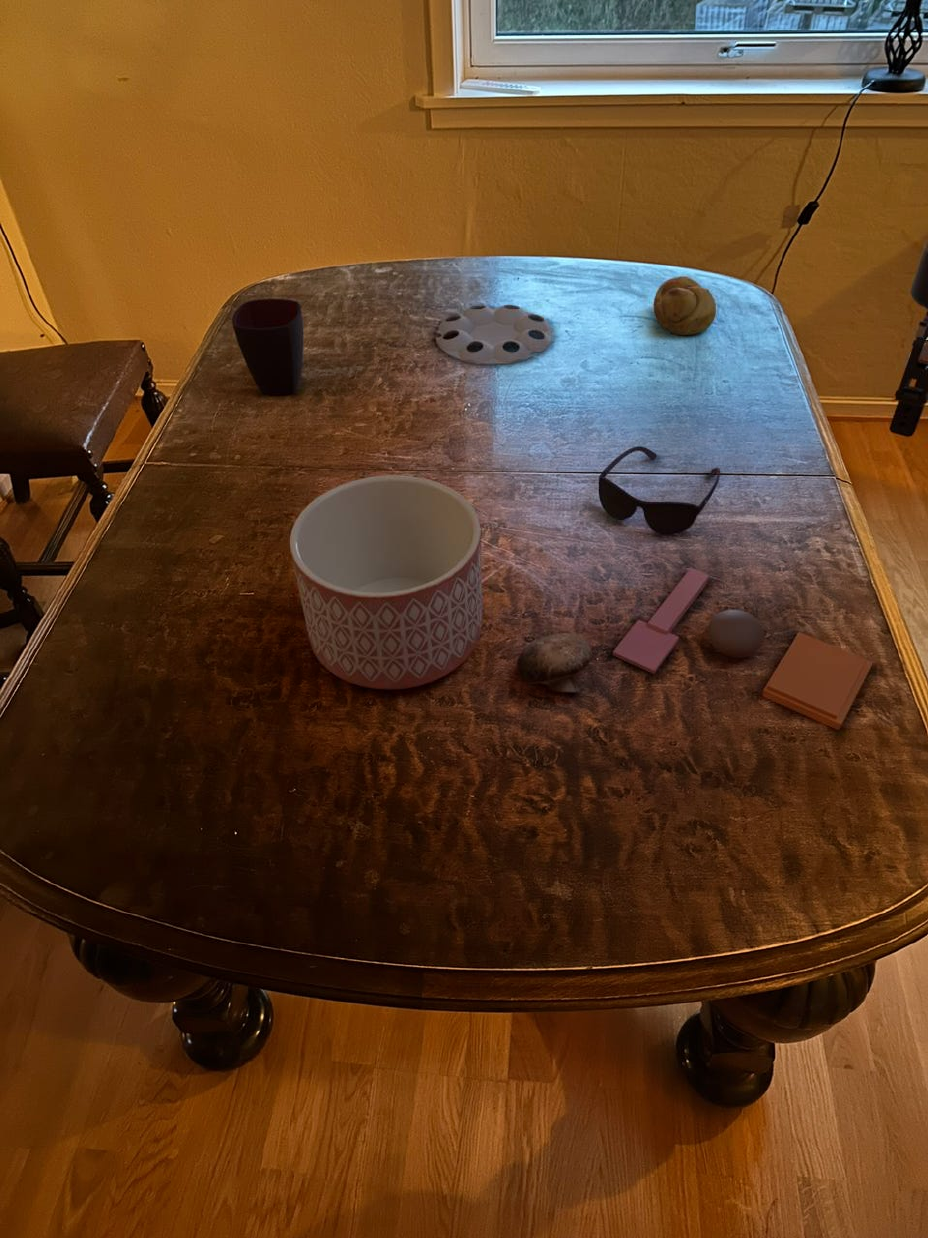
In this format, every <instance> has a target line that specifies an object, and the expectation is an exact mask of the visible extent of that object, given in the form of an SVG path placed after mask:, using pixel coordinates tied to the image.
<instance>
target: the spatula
mask: <svg viewBox="0 0 928 1238" xmlns="http://www.w3.org/2000/svg"><path fill="white" fill-rule="evenodd" d="M709 578H710V574H708V573H705V572H702V571H700V570H697V569H695V568H692V567H690V568H689V569H688V570H687V572H686V573H685V574H684V576H683V577H682V578H681V580H680V581H679V582H678V583H677V585H676V586H675V587H674V588H673V590H672V591H671V592H670V593H669V595H668V596H667V598H665V600H664V601H663V602H662V604H661V605H660V606H659V607H658V609H657V610H656V611H655V613H654V614H653V615H652V617H651V618H650V619H649V620H648V622H645V621H643V620H641V619H638V620H637V621H636V622H635V623H634V624H633V626H632V627H631V628H630V629H629V631H628V632H627V633H626V635H625V636H624V637H623V638H622V640H621V641H620V642H619V643H618V644H617V646H615V648H614V649H613V651H612V656H613V657H615V658H617V659H619V660H622V661H624V662H626V663H628V664H630V665H633V666H635V667H637V668H639V669H641V670H643V671H646V672H647V673H650V674H651V675H655V674H656V672H658V669H660V667H661V665H662V664H663V662H665V660H666V659H667V657H668V656H669V655H670V653H671V652H672V650H673V649H674V647H675V646H676V645H677V643H678V642H679V640H680V637H679V636H678V635H675V634H673V633H672V631H673V630H674V628H675V627H676V626H677V624H678V623H679V621H680V620H681V619H682V618H683V616H684V615H685V614H686V612H687V611H688V610H689V609H690V607H691V606H692V605H693V603H694V602H695V600H696V599H697V598H698V596H699V595H700V593H702V591H703V590H704V588H705V587H706V586H707V584H708V583H709Z"/></svg>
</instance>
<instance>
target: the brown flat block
mask: <svg viewBox="0 0 928 1238" xmlns="http://www.w3.org/2000/svg"><path fill="white" fill-rule="evenodd" d="M873 664H874V662H873V661H870V660H868V659H866V658H864V657H862V656H859V655H857V654H854V653H851V652H849V651H847V650H844V649H841V648H839V647H837V646H834V645H832V644H829V643H828V642H825V641H822V640H820V639H817V638H815V637H813V636H811V635H807V634H805V633H802V632H800V631H799V632H798V633H797V634H796V636H795V638H794V639H793V641H792V642H791V644H790V646H789V647H788V649H787V651H786V652H785V654H784V655H783V657H782V659H781V661H780V662H779V664H778V666H777V667H776V669H775V670H774V672H773V673H772V676H771V677H770V679H769V680H768V682H767V683H766V685H765V687H764V688H763V689H762V694H761V697H763V698H765V699H768V700H770V701H772V702H774V703H776V704H779V705H781V706H783V707H785V708H787V709H790V710H792V711H794V712H797V713H799V714H801V715H803V716H804V717H805V716H806V717H808V718H810V719H812V720H813V721H816V722H818V723H821V724H824V725H825V726H828V727H830V728H832V729H835V730H837V731H839V730H840V729H841V727H842V725H843V723H844V721H845V719H846V717H847V716H848V713H849V711H850V709H851V708H852V705H853V703H854V702H855V700H856V697H857V696H858V693H859V692H860V690H861V689H862V686H863V685H864V682H865V681H866V678H867V676H868V674H869V672H870V670H871V668H872V666H873Z"/></svg>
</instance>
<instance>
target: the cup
mask: <svg viewBox="0 0 928 1238" xmlns="http://www.w3.org/2000/svg"><path fill="white" fill-rule="evenodd" d="M303 322H304V321H303V313H302V306H301V304H300V302H299V301H298V300H293V299H286V298H261V299H254V300H253V299H252V300H248V301H246V302H244V303H242V304H241V305H239V306H238V308H237V309H236V310H235V311H234V313H233V314H232V317H231V324H232V328H233V331H234V335H235V338H236V342H237V345H238V347H239V350H240V352H241V355H242V357H243V359H244V362H245V364H246V367H247V369H248V371H249V373H250V375H251V377H252V379H253V380H254V382H255V384H256V386H257V388H258V390H259V391H260V392H261V394H263V395H268V396H289V395H293V394H295V392H297V390H298V389H299V387H300V385H301V379H302V373H303V365H304V363H303V362H304V323H303Z"/></svg>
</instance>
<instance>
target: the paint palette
mask: <svg viewBox="0 0 928 1238" xmlns="http://www.w3.org/2000/svg"><path fill="white" fill-rule="evenodd" d="M529 333H536V334H539V336H540V337H543V338H542V339H536V338H533V337H531V336H530V335H529ZM436 334H437V335H440V336H439V337H436V338H435V341H436V345H437V346H438V348H439V349H440V350H441V351H442V352H444V353H445V354H446V355H448V356H450V357H452V358H453V359H456V360H459V361H461V362H465V363H470V364H474V365H488V366H489V365H490V366H491V365H492V366H497V365H510V364H515V363H520V362H523V361H527V360H529V359H532V354H534V353H538V354H541V353H543V352H544V351H546V350H547V349H548V348H549V347H550V345H551V344H552V342H553V331H552V328H551V326H550V323H549V322H548V321H547V319H545V318H544V317H543V316H540V315H539V314H534V313H529V312H526V311H525V310H524V309H523V308H522V307H520V306H518V305H514V304H504V305H502V306H499V307H496V308H495V307H492V308H491V307H488V306H487V305H482V304H478V305H472V306H470V307H468V308H467V309H465V310H464V312H461V313H459V314H454V315H450V316H448V317H446V318H444V319H442V321H441V323H439V326H438V328H437V331H436ZM451 334H458V335H457V336H455V337H453V338H450V339H445V338H447V337H448V336H449V335H451ZM516 345H518V346H519V349H518V350H517V351H514V352H509V351H506V350H505V349H504V348H503V347H508V346H511V347H514V346H516ZM469 346H473V347H482V348H481V349H480V350H479V351H476V352H470V351H468V347H469Z"/></svg>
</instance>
